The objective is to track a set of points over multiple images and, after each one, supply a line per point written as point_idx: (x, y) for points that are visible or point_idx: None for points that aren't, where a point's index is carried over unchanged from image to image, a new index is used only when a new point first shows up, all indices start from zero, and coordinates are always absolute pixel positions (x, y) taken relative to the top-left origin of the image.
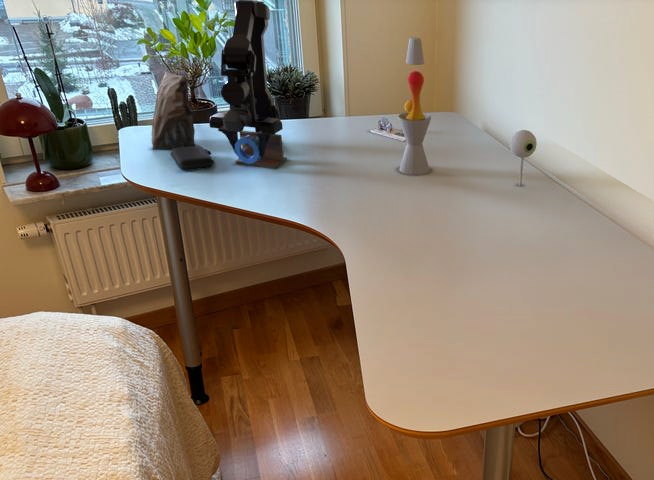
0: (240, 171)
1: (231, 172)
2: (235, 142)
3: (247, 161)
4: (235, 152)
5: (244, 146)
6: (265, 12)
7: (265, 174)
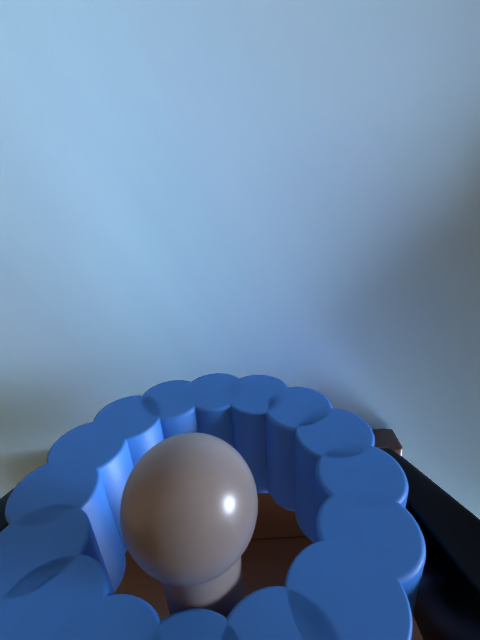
0: (280, 302)
1: (344, 248)
2: (449, 611)
3: (221, 387)
4: (390, 455)
5: (142, 495)
6: None
7: (42, 315)
